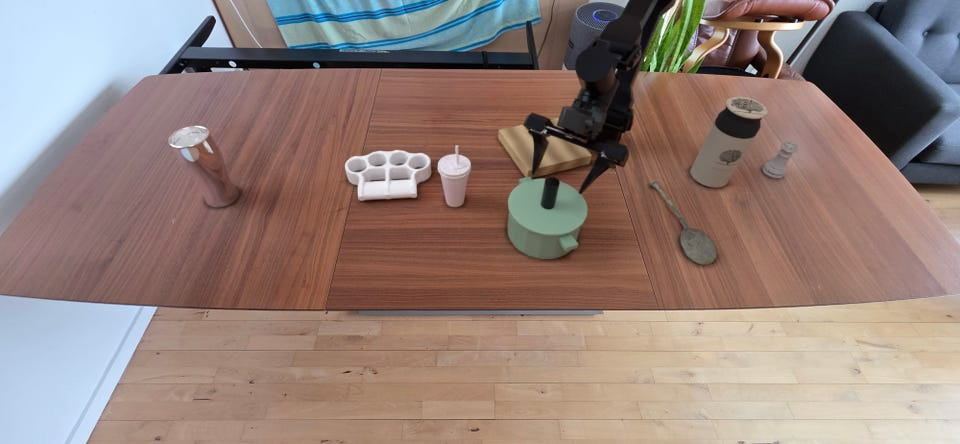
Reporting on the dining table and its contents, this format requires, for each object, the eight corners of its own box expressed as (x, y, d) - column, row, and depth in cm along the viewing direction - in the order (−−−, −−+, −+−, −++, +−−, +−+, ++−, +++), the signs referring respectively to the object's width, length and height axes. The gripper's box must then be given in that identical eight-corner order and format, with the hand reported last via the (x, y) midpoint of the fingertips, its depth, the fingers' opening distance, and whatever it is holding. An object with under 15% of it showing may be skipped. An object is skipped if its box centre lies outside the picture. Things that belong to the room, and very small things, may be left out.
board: (556, 125, 108) (557, 117, 106) (589, 163, 98) (591, 155, 96) (497, 138, 104) (498, 129, 102) (526, 179, 94) (528, 170, 92)
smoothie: (466, 214, 86) (467, 158, 76) (435, 208, 87) (432, 153, 76) (473, 192, 90) (474, 137, 80) (443, 188, 91) (441, 133, 81)
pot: (549, 193, 91) (554, 167, 86) (597, 258, 79) (606, 233, 74) (491, 208, 87) (493, 182, 82) (532, 279, 76) (537, 254, 70)
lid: (561, 175, 85) (567, 149, 80) (601, 226, 76) (611, 199, 71) (495, 192, 81) (497, 165, 76) (528, 247, 72) (533, 220, 67)
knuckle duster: (343, 205, 87) (350, 160, 96) (433, 200, 88) (430, 156, 98) (340, 193, 84) (347, 148, 94) (432, 188, 86) (429, 144, 96)
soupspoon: (687, 269, 79) (719, 266, 80) (696, 258, 76) (728, 255, 78) (639, 186, 93) (666, 184, 94) (644, 174, 90) (672, 173, 92)
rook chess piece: (782, 170, 99) (802, 141, 93) (782, 181, 96) (803, 153, 90) (761, 164, 100) (779, 136, 94) (761, 175, 97) (780, 147, 91)
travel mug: (689, 162, 100) (724, 92, 87) (726, 170, 98) (767, 100, 85) (689, 183, 94) (726, 112, 81) (727, 192, 93) (771, 121, 80)
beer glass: (248, 190, 89) (218, 129, 78) (224, 212, 84) (189, 151, 73) (221, 182, 90) (188, 121, 79) (196, 204, 86) (157, 142, 75)
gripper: (534, 69, 71) (497, 156, 72) (645, 104, 65) (601, 199, 66) (548, 92, 81) (514, 168, 83) (644, 124, 75) (606, 206, 76)
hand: (555, 184), depth 77 cm, fingers open, 9 cm apart
